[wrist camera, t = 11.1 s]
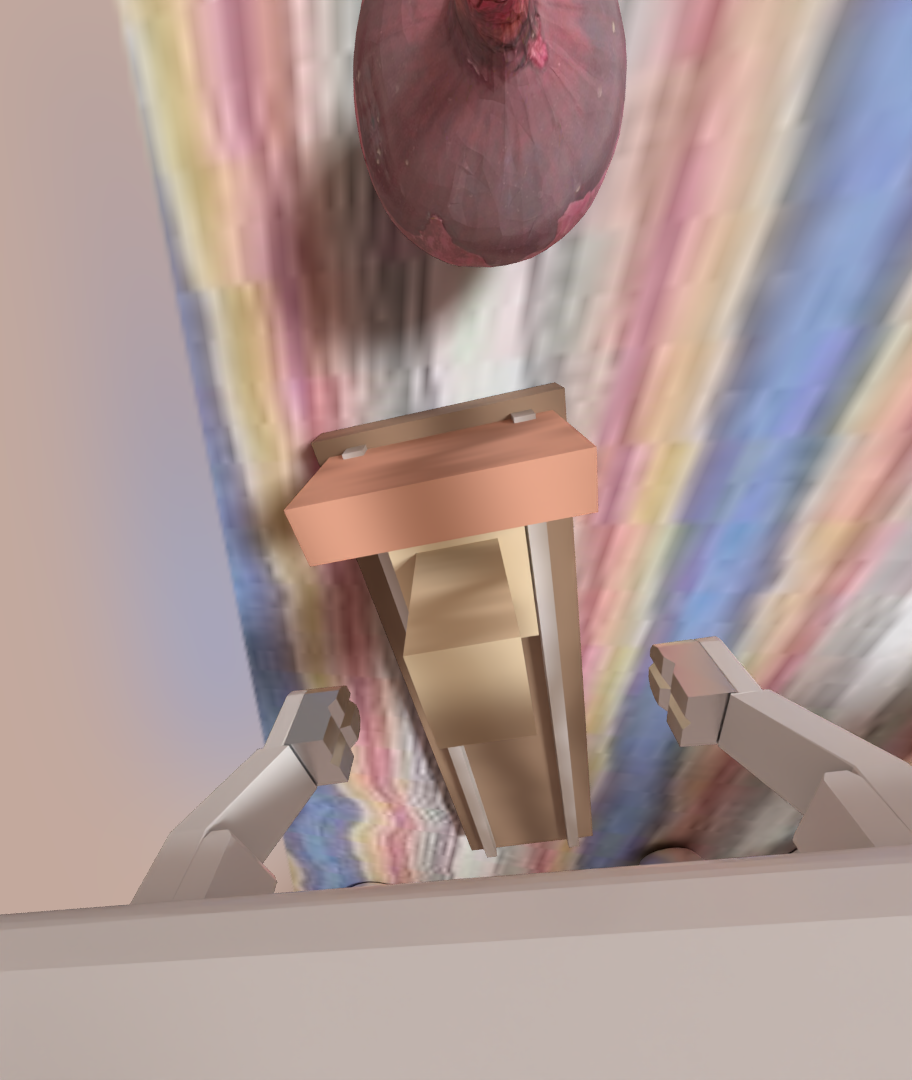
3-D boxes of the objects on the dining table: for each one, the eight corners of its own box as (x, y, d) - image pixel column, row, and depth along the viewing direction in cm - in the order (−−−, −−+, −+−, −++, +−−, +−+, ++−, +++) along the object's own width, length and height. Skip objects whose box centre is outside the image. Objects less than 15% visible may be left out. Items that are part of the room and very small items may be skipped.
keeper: (509, 477, 16) (558, 598, 9) (526, 591, 19) (572, 750, 12) (392, 500, 16) (352, 634, 9) (426, 609, 19) (414, 772, 12)
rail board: (554, 382, 16) (614, 416, 10) (586, 815, 33) (616, 918, 27) (321, 433, 17) (256, 491, 11) (470, 829, 34) (475, 932, 28)
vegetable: (350, 73, 11) (41, -716, 3) (557, -12, 11) (1026, -1429, 2) (415, 305, 14) (366, 279, 6) (581, 250, 14) (817, 126, 5)
